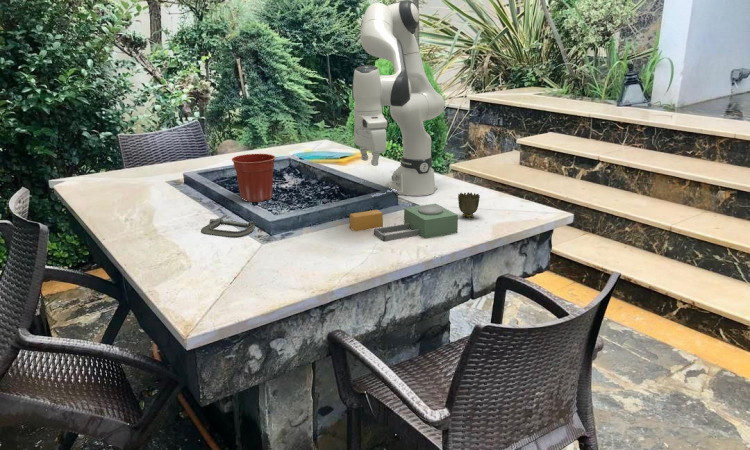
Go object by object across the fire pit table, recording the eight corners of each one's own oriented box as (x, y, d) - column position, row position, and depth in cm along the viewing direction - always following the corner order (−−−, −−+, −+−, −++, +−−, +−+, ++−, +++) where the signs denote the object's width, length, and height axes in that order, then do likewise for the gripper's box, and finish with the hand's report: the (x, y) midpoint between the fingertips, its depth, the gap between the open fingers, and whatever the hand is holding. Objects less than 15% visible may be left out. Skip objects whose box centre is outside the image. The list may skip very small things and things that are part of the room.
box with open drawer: (369, 231, 187) (369, 210, 185) (435, 220, 197) (435, 200, 195) (388, 244, 175) (388, 222, 173) (457, 232, 185) (458, 211, 182)
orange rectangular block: (350, 228, 191) (349, 213, 189) (377, 223, 194) (377, 209, 193) (354, 231, 187) (354, 217, 185) (382, 227, 191) (382, 212, 189)
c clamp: (189, 232, 189) (188, 225, 188) (224, 218, 204) (223, 210, 203) (237, 242, 180) (237, 233, 180) (270, 225, 195) (270, 218, 194)
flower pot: (262, 190, 236) (259, 151, 231) (286, 197, 225) (284, 157, 220) (227, 198, 225) (223, 158, 220) (250, 206, 214) (247, 164, 209)
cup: (478, 221, 196) (479, 198, 193) (456, 219, 197) (457, 197, 194) (479, 214, 203) (480, 192, 200) (457, 213, 204) (458, 191, 201)
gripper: (348, 116, 189) (350, 158, 193) (369, 123, 171) (371, 169, 175) (366, 115, 191) (368, 156, 195) (389, 122, 173) (390, 167, 177)
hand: (369, 162), depth 185 cm, fingers open, 8 cm apart
